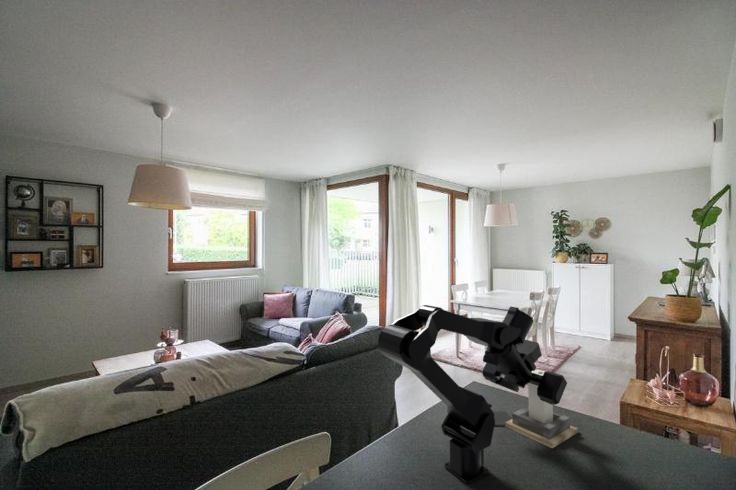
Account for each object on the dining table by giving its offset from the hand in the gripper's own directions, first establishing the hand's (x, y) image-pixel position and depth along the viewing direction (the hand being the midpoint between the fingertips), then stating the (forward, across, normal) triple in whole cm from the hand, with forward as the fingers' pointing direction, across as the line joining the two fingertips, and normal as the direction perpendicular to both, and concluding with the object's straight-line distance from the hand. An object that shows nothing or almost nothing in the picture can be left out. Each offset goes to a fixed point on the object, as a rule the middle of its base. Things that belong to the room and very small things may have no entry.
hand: (535, 396), depth 87 cm
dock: (+8, 0, +4) cm, 9 cm away
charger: (+7, 0, +4) cm, 8 cm away
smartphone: (+3, +12, +10) cm, 16 cm away
